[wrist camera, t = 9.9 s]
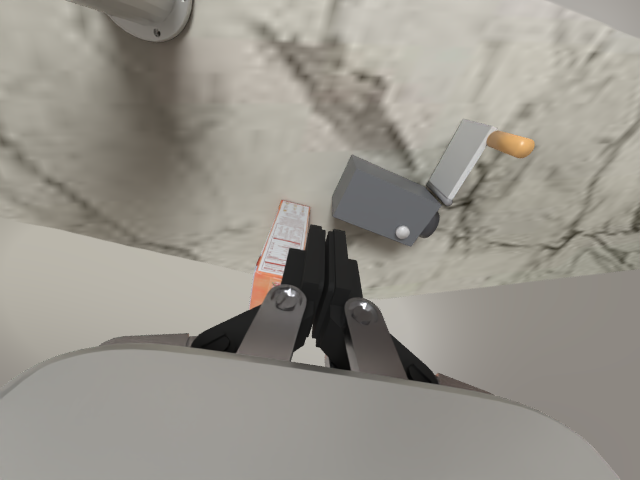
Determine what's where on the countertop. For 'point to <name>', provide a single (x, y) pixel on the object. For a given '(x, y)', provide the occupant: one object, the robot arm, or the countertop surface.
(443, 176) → the grey blade tan handle
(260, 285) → the cracker box
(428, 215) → the block
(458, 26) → the countertop surface
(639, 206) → the countertop surface
